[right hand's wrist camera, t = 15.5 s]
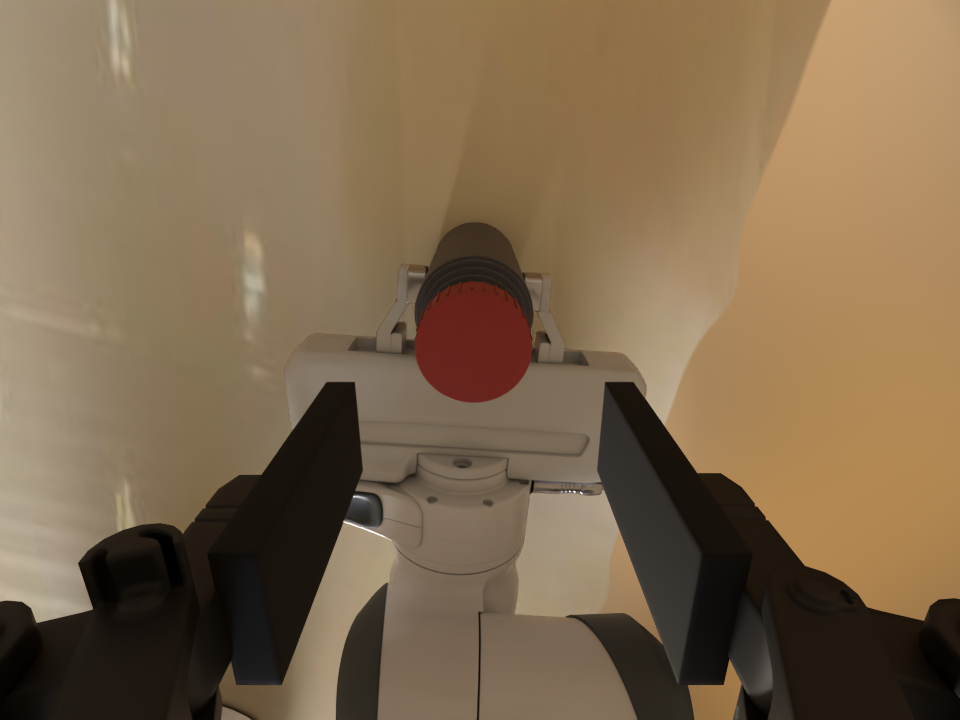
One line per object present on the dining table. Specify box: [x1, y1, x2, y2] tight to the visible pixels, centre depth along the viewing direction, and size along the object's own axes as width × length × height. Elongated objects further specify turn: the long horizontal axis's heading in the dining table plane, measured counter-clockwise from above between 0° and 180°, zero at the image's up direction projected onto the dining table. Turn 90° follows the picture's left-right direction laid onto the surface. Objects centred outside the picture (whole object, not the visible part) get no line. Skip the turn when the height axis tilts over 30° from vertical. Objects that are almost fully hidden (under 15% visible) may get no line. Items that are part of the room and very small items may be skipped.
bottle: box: [415, 223, 533, 330], centre depth 27 cm, size 5×5×16 cm
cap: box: [414, 281, 532, 403], centre depth 20 cm, size 4×4×2 cm
